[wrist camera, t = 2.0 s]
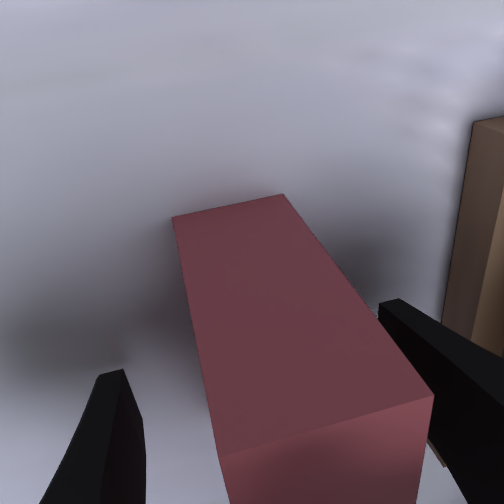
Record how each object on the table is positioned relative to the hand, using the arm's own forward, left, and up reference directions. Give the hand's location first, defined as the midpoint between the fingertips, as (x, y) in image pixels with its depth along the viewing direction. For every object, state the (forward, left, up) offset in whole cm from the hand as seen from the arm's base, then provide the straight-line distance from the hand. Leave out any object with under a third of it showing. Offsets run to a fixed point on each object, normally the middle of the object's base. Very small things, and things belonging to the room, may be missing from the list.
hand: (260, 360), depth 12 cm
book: (0, 0, -2) cm, 2 cm away
